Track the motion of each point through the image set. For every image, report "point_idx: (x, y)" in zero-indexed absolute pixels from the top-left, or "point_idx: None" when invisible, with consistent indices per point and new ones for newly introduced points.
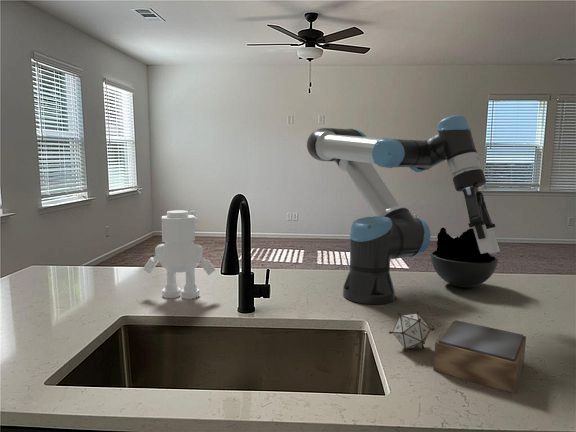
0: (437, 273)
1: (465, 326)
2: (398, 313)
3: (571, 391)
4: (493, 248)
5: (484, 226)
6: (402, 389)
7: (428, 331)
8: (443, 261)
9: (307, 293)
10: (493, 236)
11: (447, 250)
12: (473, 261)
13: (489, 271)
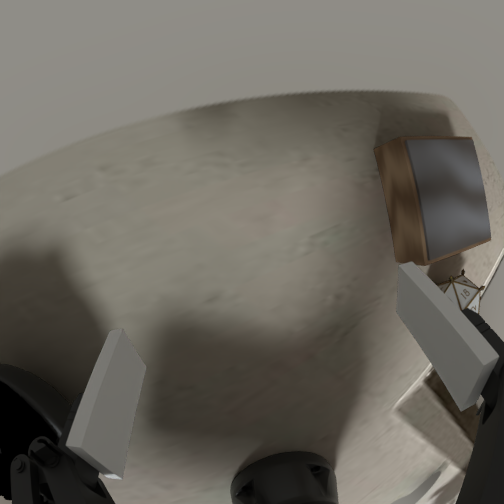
0: None
1: (441, 232)
2: None
3: (396, 91)
4: (128, 364)
5: (490, 350)
6: (497, 241)
7: (455, 279)
8: None
9: None
10: (102, 403)
11: None
12: (41, 420)
13: (13, 369)
